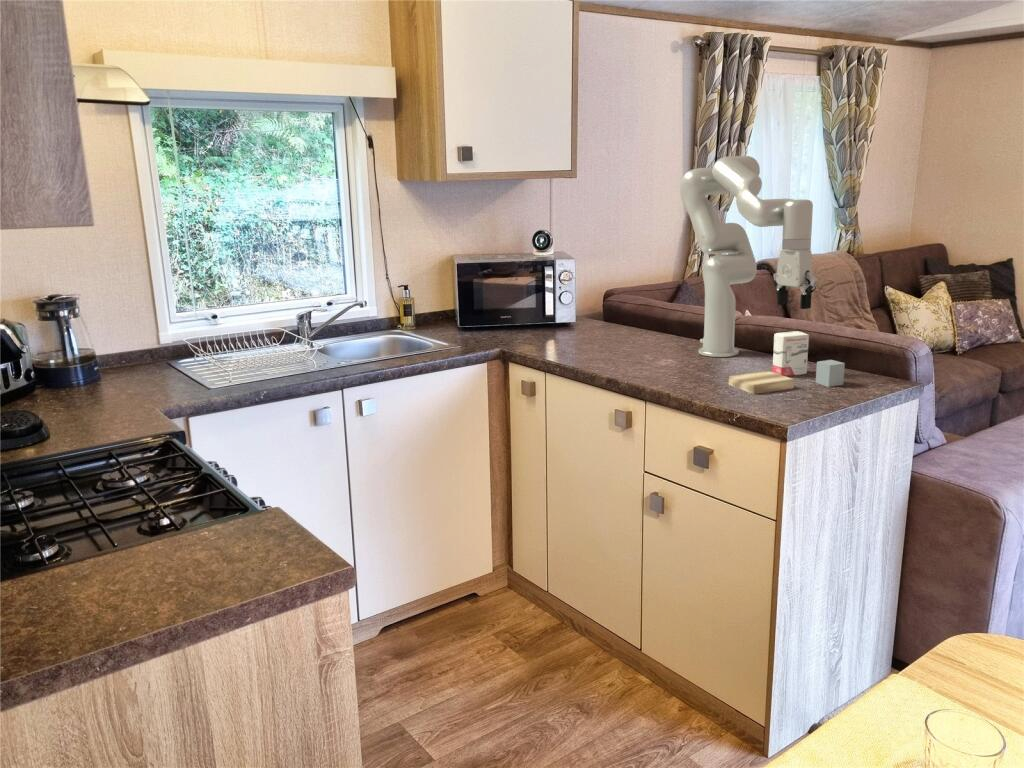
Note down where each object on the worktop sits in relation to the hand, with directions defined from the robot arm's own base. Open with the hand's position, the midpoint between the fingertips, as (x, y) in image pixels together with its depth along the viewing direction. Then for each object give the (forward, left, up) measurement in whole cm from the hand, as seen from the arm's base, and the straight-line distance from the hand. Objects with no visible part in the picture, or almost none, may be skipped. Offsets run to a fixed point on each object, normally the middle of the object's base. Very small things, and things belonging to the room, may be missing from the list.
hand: (793, 306), depth 226 cm
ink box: (0, 0, -20) cm, 20 cm away
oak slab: (+8, -16, -20) cm, 27 cm away
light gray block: (+14, +2, -20) cm, 24 cm away
